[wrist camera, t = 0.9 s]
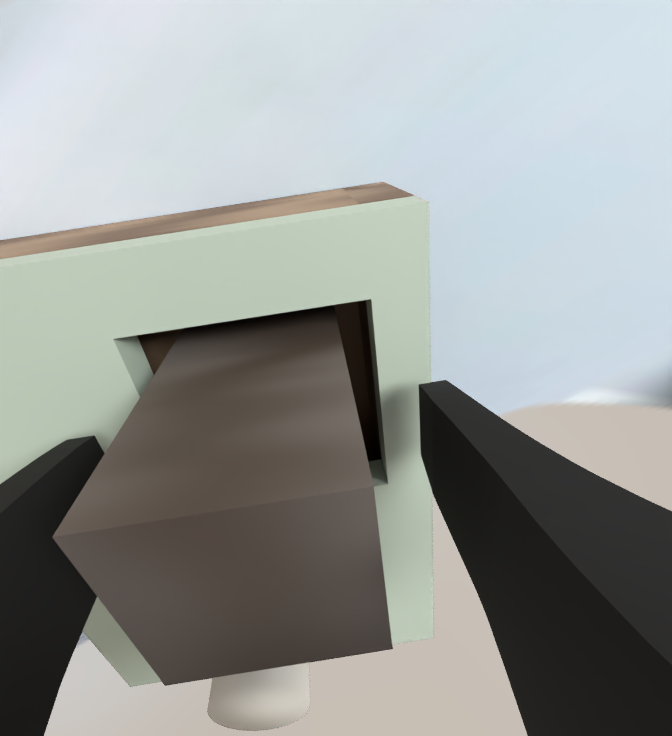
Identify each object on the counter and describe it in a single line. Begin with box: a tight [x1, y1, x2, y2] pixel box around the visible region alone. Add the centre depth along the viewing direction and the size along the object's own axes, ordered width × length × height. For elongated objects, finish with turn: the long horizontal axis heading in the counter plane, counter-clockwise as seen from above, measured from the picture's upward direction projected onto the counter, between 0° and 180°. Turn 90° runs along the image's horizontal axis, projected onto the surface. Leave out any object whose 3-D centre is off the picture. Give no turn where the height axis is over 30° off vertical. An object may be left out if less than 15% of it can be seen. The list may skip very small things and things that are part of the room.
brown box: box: [0, 182, 414, 462], centre depth 14 cm, size 12×16×4 cm
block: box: [52, 305, 393, 685], centre depth 9 cm, size 4×4×8 cm
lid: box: [0, 196, 434, 731], centre depth 11 cm, size 12×16×4 cm
